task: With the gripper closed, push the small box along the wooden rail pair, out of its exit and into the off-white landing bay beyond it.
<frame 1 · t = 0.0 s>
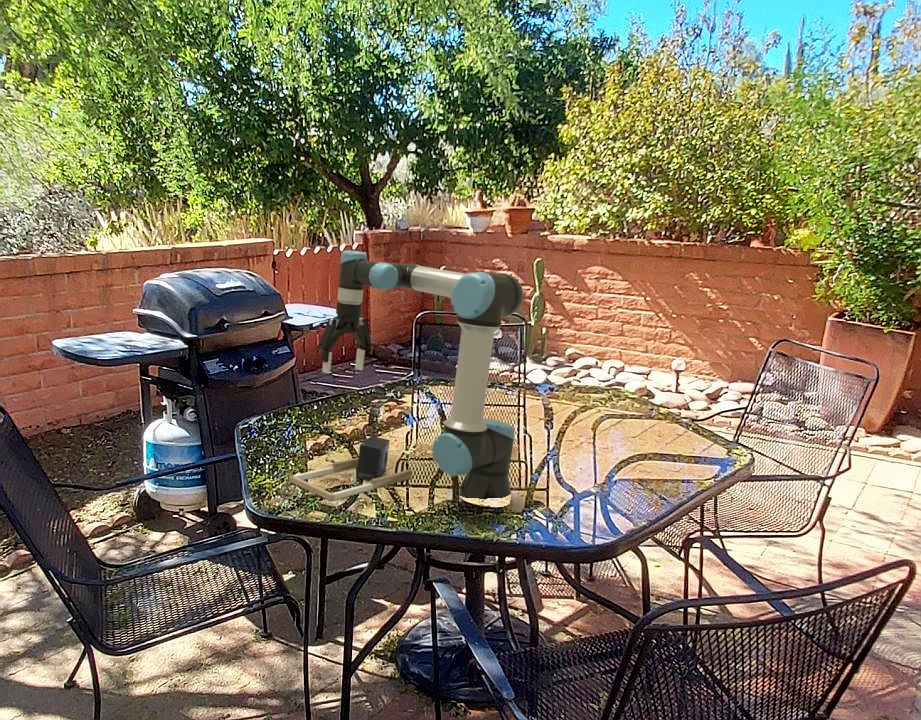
hand: (342, 371, 228), 28 cm above the table, tool pointing down, fingers open, 13 cm apart
wooden rail pair: (371, 475, 222), on the table
small box: (371, 475, 222), on the table
landing bay: (333, 484, 210), on the table
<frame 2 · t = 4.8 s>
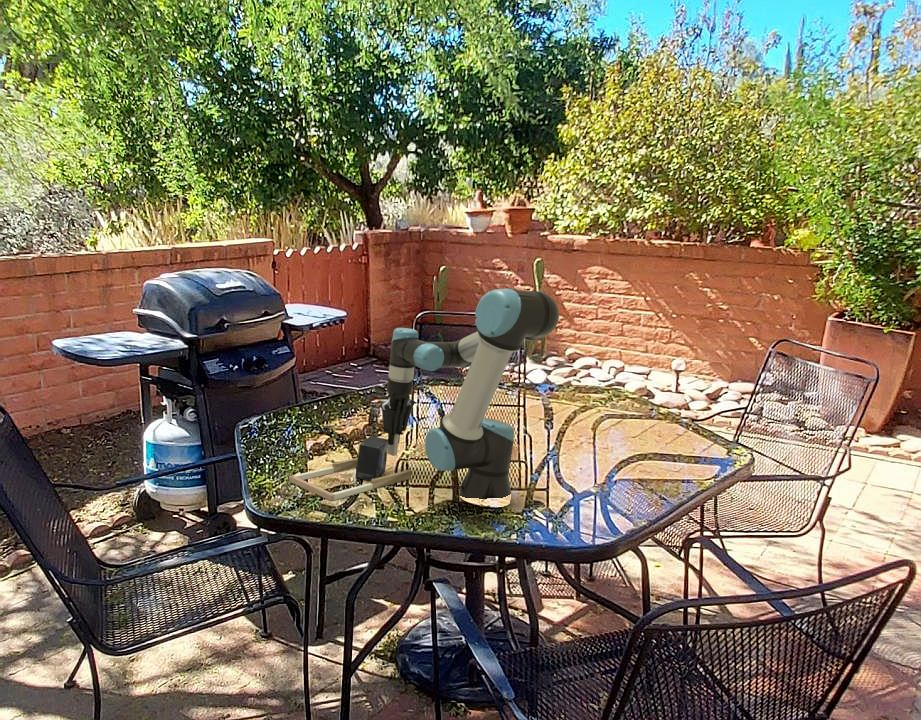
hand: (392, 454, 228), 5 cm above the table, tool pointing down, fingers closed
small box: (370, 475, 222), on the table, touching gripper
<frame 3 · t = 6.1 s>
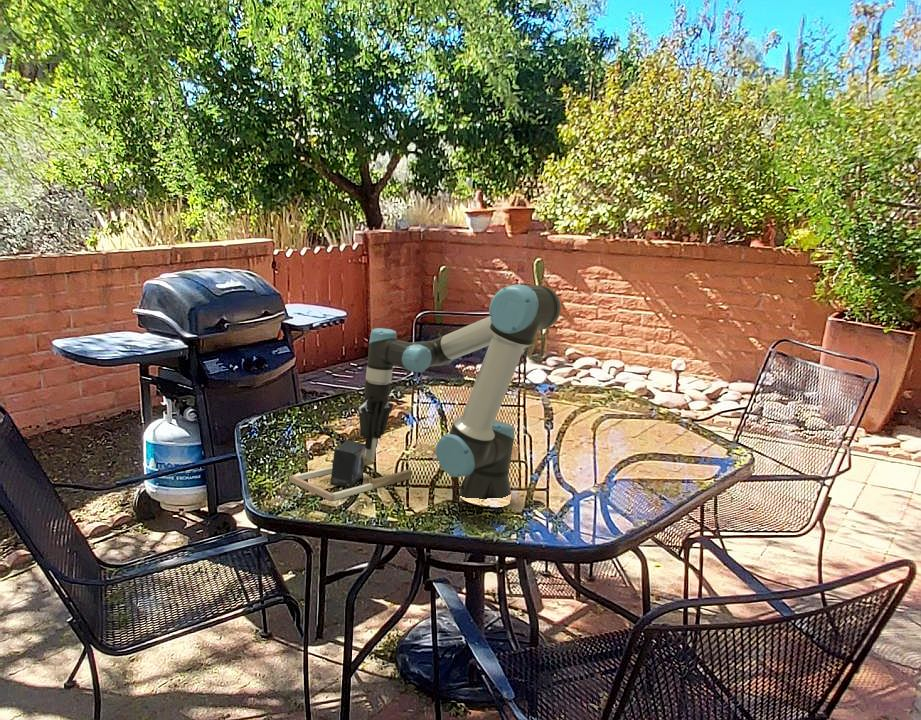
hand: (369, 458, 221), 5 cm above the table, tool pointing down, fingers closed
small box: (346, 481, 215), on the table, touching gripper
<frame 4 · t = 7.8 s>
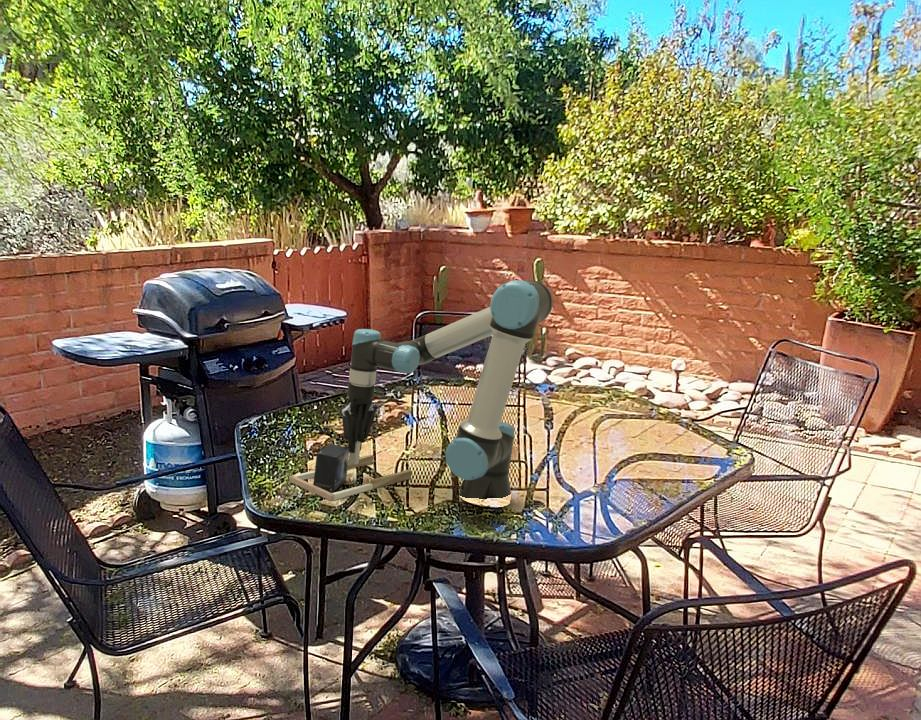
hand: (353, 462, 215), 5 cm above the table, tool pointing down, fingers closed
small box: (329, 486, 210), on the table, touching gripper
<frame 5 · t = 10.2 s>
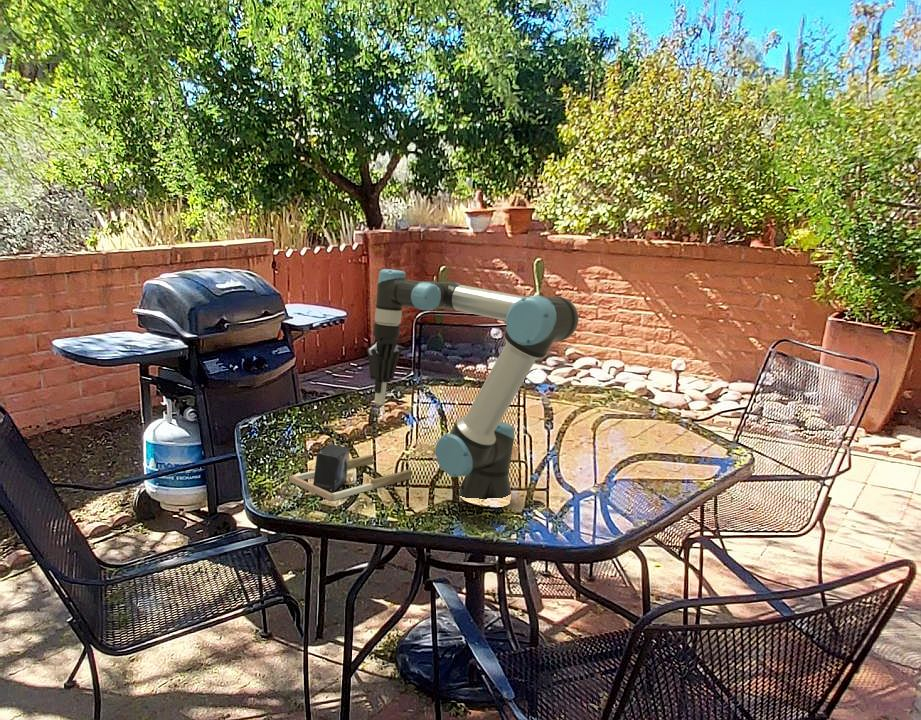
hand: (379, 403, 217), 22 cm above the table, tool pointing down, fingers closed
small box: (330, 486, 210), on the table
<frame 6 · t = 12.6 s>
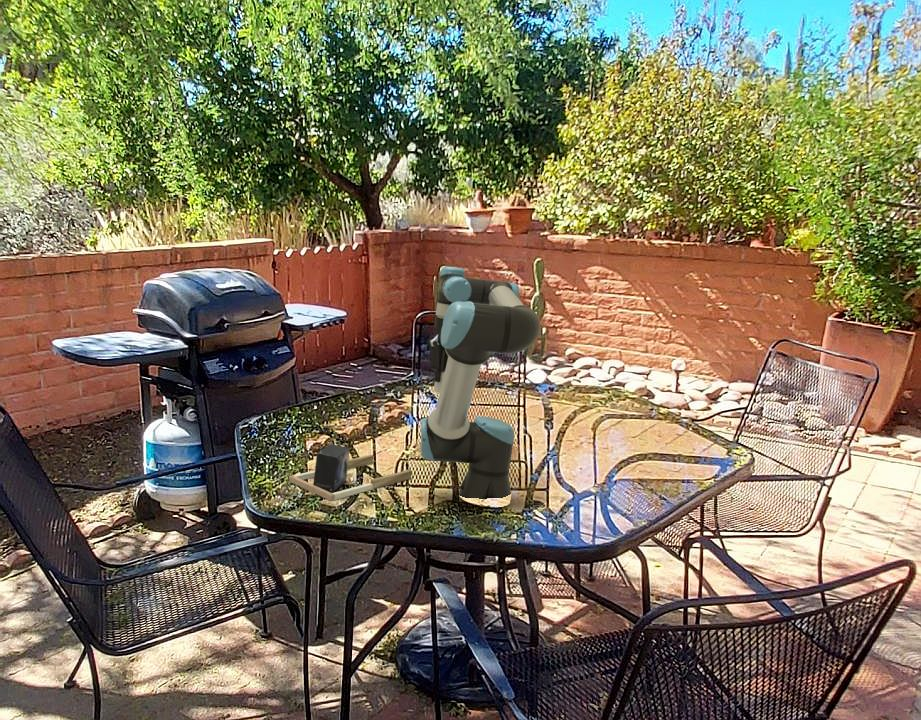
hand: (438, 391, 233), 24 cm above the table, tool pointing down, fingers closed
nothing on the table moved.
at the end: small box inside the target area (0.7 cm from its centre), on the table; small box tilted 0° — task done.
